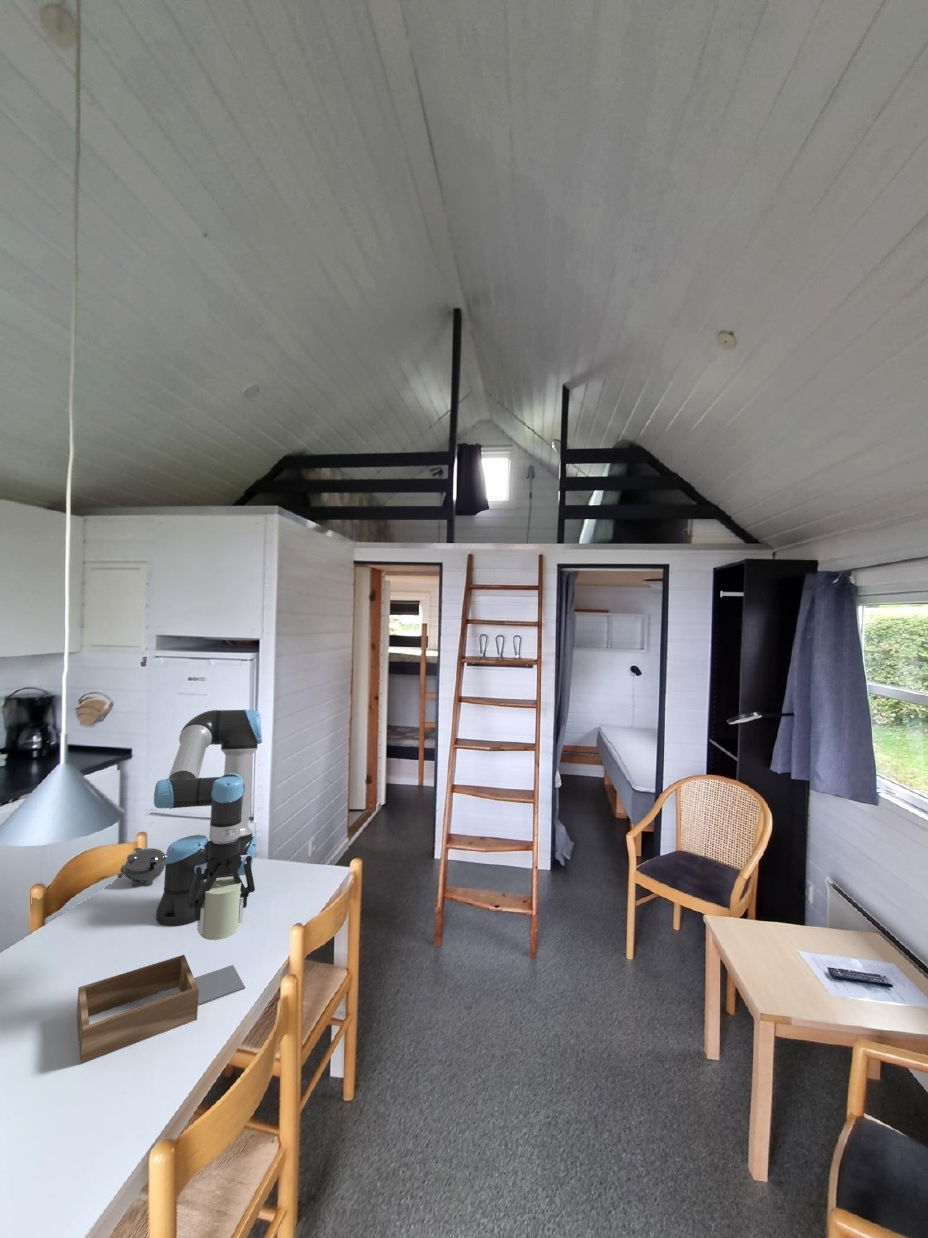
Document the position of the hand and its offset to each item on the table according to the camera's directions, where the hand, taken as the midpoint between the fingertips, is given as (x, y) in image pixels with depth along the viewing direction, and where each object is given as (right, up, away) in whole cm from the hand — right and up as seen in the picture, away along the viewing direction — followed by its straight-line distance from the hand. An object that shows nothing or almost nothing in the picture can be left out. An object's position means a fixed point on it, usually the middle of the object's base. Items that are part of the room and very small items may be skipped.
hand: (220, 926), depth 138 cm
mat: (-1, -15, 0) cm, 15 cm away
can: (0, -1, 0) cm, 1 cm away
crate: (-13, -14, -13) cm, 24 cm away
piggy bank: (-51, -14, +52) cm, 74 cm away
